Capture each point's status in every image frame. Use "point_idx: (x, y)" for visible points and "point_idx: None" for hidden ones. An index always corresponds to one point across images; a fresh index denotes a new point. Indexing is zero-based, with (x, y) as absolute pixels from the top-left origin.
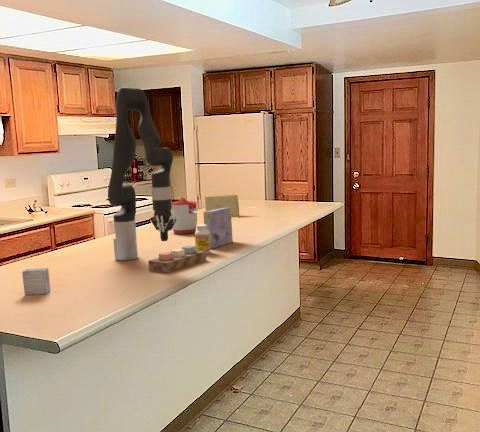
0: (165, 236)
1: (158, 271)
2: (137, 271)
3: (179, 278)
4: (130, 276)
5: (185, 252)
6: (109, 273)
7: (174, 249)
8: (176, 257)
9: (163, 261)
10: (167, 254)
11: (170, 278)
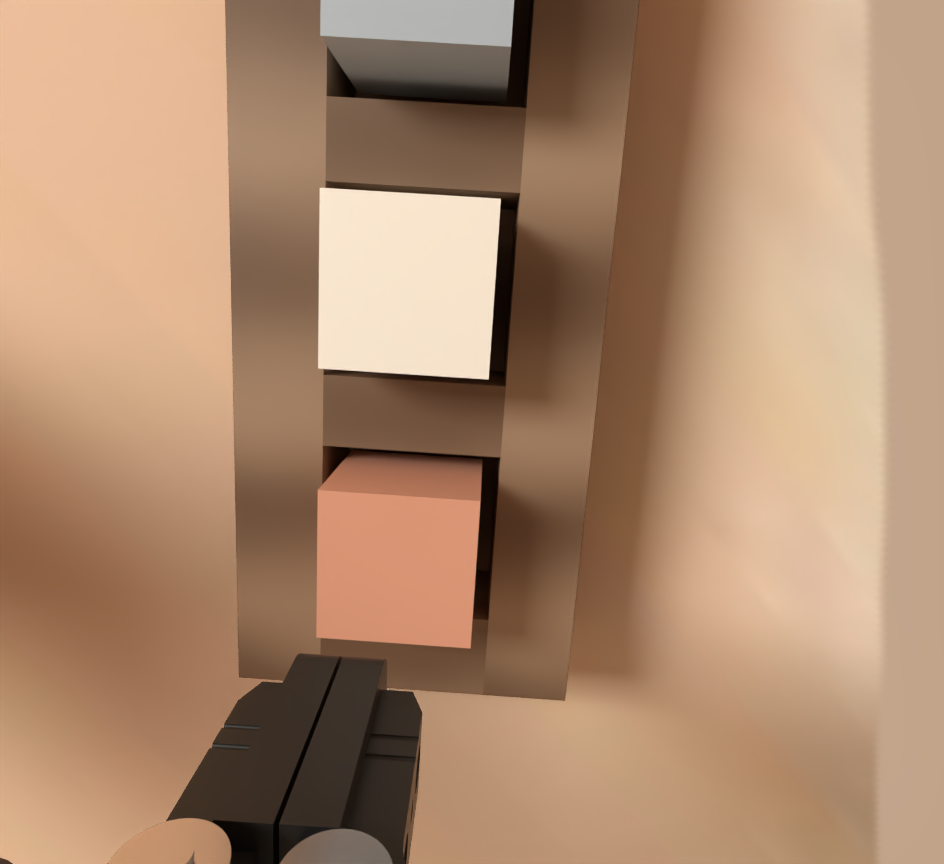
0: (410, 841)
1: None
2: (199, 686)
3: (810, 737)
4: None
5: (414, 75)
6: (9, 835)
7: (319, 268)
8: (474, 389)
9: None
10: (472, 612)
11: (721, 767)
